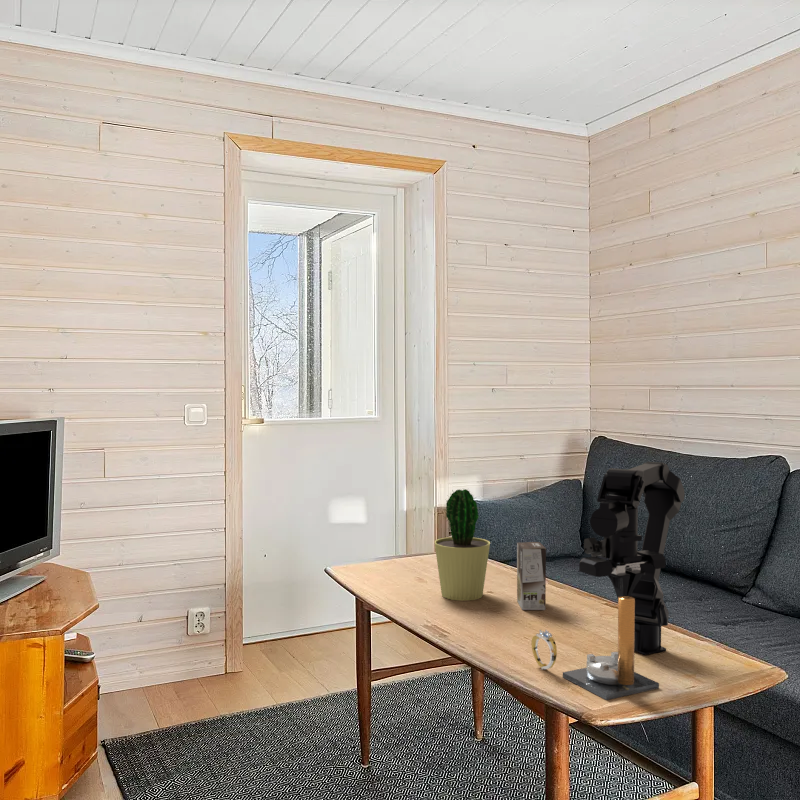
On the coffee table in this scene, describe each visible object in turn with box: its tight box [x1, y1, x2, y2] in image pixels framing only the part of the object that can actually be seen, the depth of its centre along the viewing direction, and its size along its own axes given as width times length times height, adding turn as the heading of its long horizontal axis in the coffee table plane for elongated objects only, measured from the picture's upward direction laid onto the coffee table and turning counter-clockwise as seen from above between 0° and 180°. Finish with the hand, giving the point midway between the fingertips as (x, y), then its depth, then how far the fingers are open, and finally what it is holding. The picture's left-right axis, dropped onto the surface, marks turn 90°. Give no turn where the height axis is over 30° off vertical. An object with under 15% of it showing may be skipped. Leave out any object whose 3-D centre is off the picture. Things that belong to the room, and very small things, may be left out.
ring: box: [530, 629, 558, 671], centre depth 168 cm, size 7×3×8 cm, turn 22°
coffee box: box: [516, 541, 547, 611], centre depth 215 cm, size 9×6×16 cm
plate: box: [562, 667, 660, 701], centre depth 161 cm, size 13×13×1 cm
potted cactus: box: [434, 488, 491, 602], centre depth 225 cm, size 15×15×30 cm
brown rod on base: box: [586, 596, 635, 685], centre depth 159 cm, size 12×9×17 cm
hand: (622, 604), depth 169 cm, fingers closed
